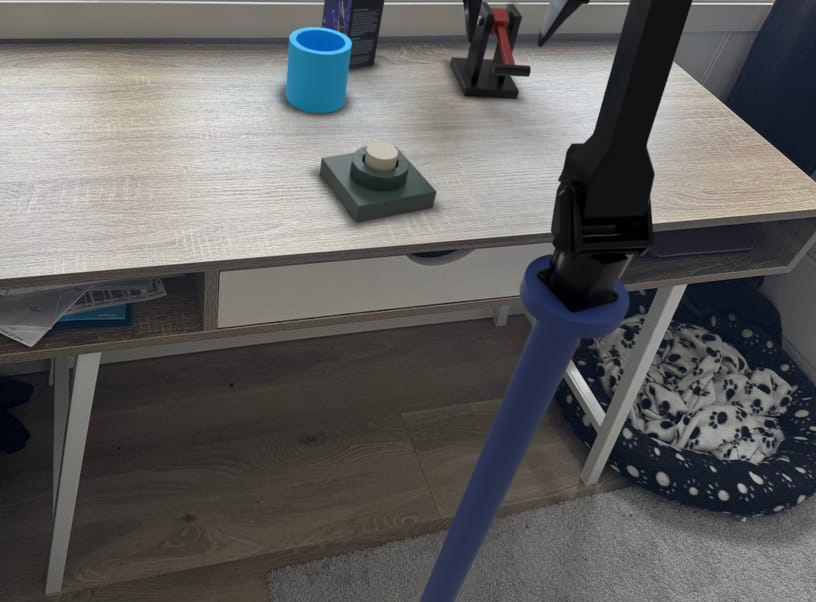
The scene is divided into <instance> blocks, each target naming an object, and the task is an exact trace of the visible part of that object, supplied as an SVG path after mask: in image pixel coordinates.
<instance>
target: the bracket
mask: <svg viewBox="0 0 816 602" xmlns="http://www.w3.org/2000/svg"><path fill="white" fill-rule="evenodd" d="M491 8H492V7H490V4H489V3H488V2H487V1H482V4H481V9H480V14H479V18H478V23H477V27H476V32H475V35H474V38H473V40H472V42H471V43H470V44H469V48H468V53H467V57H458V56H457V57H455V56H452V57H451V59H450V63H449V64H450V67H451V69H452V72H453V74H454V76H455V79H456V81H457V83H458V85H459V87H460V89H461V92H462V94H463V96H465V97H480V98H481V97H482V98H483V97H485V98H500V99H501V98H502V99H518V96H519V92H520V90H519V89H518V87H517V85H516V83H515V82H514V80H513V78H512V76H505V75H492V65H493V64H504V63H503V59H502V55H501V52H500V48H499V44H498V41H497V42H496V46H495V50H494V54H493V58H492V59H488V58H487V59H486V58H485V54H486V50H487V47H488V42H489V39H490V31H491V27H492V23H493V19H494V13H493V11H492V10H491ZM505 9H506V10H507V14H508V17H509V21H510V22H509V25H508V27H507V30H506V33H507V37H508V41H509V44H510V48H511V51H512V53H513V51H514V49H515V45H516V41H517V37H518V34H519V30H520V27H521V23H522V20H523V16H522V14H521V13H520V11H519V10H518V8H517V7H516V5H515V4H513V3H507V4H506V8H505Z"/></svg>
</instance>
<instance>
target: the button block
mask: <svg viewBox="0 0 816 602" xmlns="http://www.w3.org/2000/svg"><path fill="white" fill-rule="evenodd" d="M393 146H394V145H393ZM394 147H395V148H396V149H397V150H398V157H397V162H396V167H395V168H394V170H392V171H386V172H384V171H377V170H373V169H371V168H369V167H367V166H366V165H365V155H366V149H367V146H362V147H360V148H358V149H357V150H355V151H354V152H351V153H344V154H338V155H331V156H325V157H321V160H320V170H319V175H320V176H321V178H322V179H323V180H324V181H325V183H326V184H327V186H328V187H329V188H330V190H331V191H332V192H333V193H334V194H335V196H336V197H337V198H338V199H339V201H340V202H341V204H342V205H343V207H344V208H345V209H346V211H347V212H348V214H349V215H350V216H351V217H352V219H353V220H354V221H355V222H356V223H359V222H365V221H370V220H375V219H381V218H384V217H391V216H394V215H399V214H404V213H405V214H406V213H410V212H415V211H420V210H426V209H430V208H434V204H435V200H436V197H437V190H436V189H435V188H434V187H433V185H431V184H430V182H429V181H428V180H427V179H426V178H425V177H424V175H422V173H421V172H420V171H419V170H418V169H417V167H416V166H414V165H413V164H412V162H410V160H409V159H408V158H407V157H406V156H405V155H404V154H403V153H402V151H401V150H400V149H399V148H398V147H397V146H396V145H395V146H394Z"/></svg>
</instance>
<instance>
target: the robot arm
mask: <svg viewBox="0 0 816 602" xmlns="http://www.w3.org/2000/svg"><path fill="white" fill-rule="evenodd" d="M482 2H483V0H462V5H463V14H464V23H465V24H464V25H465V33H466V34H465V35H466V40H467V43H470V44H471V42H472V40H473V38H474V35H475V32H476V27H477V23H478V18H479V14H480V9H481V4H482ZM590 2H591V0H550V1H549V3H548V6H547V9H546V12H545V14H544V18H543V20H542V23H541V26H540V28H539V32H538V36H537V40H536V45H537V46H538V47H539V48H543V47H544V46H545V44H546V43H547V42H548V41H549V40H550V39H551V38H552V36H553V35H554V34H555V33H556V32H557V30H558V29H559V28H560V27H561V26H562V25H563V23H564V22H565V21H567V19H569V18H570V17H571V15H573V14H574V13H575V11H577V10H578V9H579V8H580V7H581V6H582V5H588V4H590ZM693 2H694V0H629V3H628V7H627V11H626V13H625V17H624V21H623V25H622V29H621V32H620V35H619V39H618V43H617V46H616V50H615V54H614V57H613V61H612V63H611V69H610V72H609V74H608V75H609V76H608V79H607V82H606V87H605V90H604V94H603V97H602V101H601V105H600V108H599V112H598V116H597V119H596V122H595V127H594V129H593V132H592V134H591V135H590V136H589V137H588V138H587V139H586V140H585V142H583V143H581V142H577V143H576V142H575V143H574V142H573V143H571V144H569V146H568V148H567V150H566V151H565V157H564V163H563V168H562V170H561V173H560V175H559V177H558V179H557V181H558V182H559V184H558V187H557V188H556V193H555V199H554V204H553V211H552V213H553V214H552V219H551V225H550V233H551V235H552V236H553V239H552V242H551V245H552V246H553V248H554V250H553V252H552V254H553V255H552V257H551V260H550V262H549V266H550V268H548V269H544V270H540V271H538V273H537V277H538V278H539V279H540V280H541V281H542V282H543V283H544V284H545V285H546V287H547V288H548V289H549V290H550V291H551V292H552V293H553V294H554V295H555V296H556V297H557V298H558V299H559V300H560V301H561V303H562V304H563V305H564V306H565V307H566V308H567V309H568V310H569V311H570V312H572V313H576V312H580V311H583V310H587V309H590V308H594V307H597V306H601V305H604V304H608V303H611V302H615V301H617V300H618V298H619V295H618V294H617V293H616V292H615V291H614V290H613V288H614V286H615V284H616V282H617V280H618V278H619V279H620V276H621V274H622V272H623V270H624V268H625V266H626V264H627V262H628V259H629V257H628V256H634V255H636V256H644V255H645V254H647V253H648V252H649V251H650V250H651V249H652V248H653V247H654V246H655V241H654V240H655V238H654V225H653V213H652V200H651V194H652V191H653V190H652V189H653V185H654V180H655V175H656V173H655V169H654V166H653V163H652V158H651V155H650V153H649V149H648V143H649V140H650V136H651V132H652V130H653V127H654V123H655V120H656V118H657V114H658V111H659V108H660V104H661V102H662V99H663V95H664V93H665V89H666V86H667V83H668V79H669V76H670V73H671V69H672V67H673V64H674V60H675V58H676V55H677V51H678V48H679V46H680V42H681V39H682V36H683V33H684V30H685V26H686V24H687V20H688V18H689V15H690V11H691V8H692V5H693Z"/></svg>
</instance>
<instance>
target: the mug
mask: <svg viewBox="0 0 816 602" xmlns="http://www.w3.org/2000/svg"><path fill="white" fill-rule="evenodd" d="M288 41H289V42H288V54H287V70H286V83H285V84H286V87H285V99H286V101H287V103H288V104H289V105H291V106H292V107H294V108H296V109H298V110H300V111H303V112H306V113H311V114H313V113H314V114H329V113H333V112H337V111H338V110H340V109H342V108H343V106H345V102H346V93H347V87H348V78H349V71H350V68H349V62H350V54H351V46H352V42H351V40H350V39H349V38H348V37H347V36H346V35H344V34H342V33H340V32H338V31H335V30H331V29H328V28H321V27H318V26H316V27H314V26H313V27H311V26H309V27H301V28H299V29H296V30H294V31H293V32H292V33H290V34H289V39H288Z"/></svg>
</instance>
